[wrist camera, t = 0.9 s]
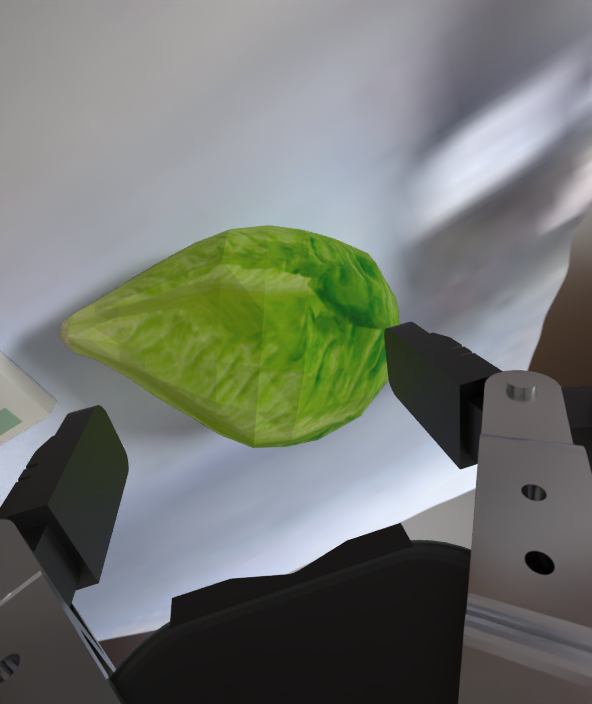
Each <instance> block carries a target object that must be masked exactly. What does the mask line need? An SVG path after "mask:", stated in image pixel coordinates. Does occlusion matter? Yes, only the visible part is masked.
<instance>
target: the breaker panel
mask: <svg viewBox="0 0 592 704" xmlns="http://www.w3.org/2000/svg"><path fill="white" fill-rule="evenodd" d="M55 403H56V400H55V399H54V398H53V397H52V396H51V395H49V394H48V393H47V392H46V391H45V390H44V389H43V388H41V387H40V386H39V385H38V384H37V383H36V382H35V381H34V380H32V379H31V378H30V377H29V376H28V375H27V374H26V373H24V372H23V371H22V370H21V369H20V368H19V367H18V366H16V365H15V364H14V363H13V362H12V361H11V360H10V359H8V358H7V357H6V356H5V355H4V354H3V353H2V352H1V351H0V445H2V444H4V443H5V442H7V441H9V440H10V439H12V438H13V437H15V436H17V435H18V434H20V433H22V432H23V431H25V430H26V429H28V428H30V427H31V426H33V425H35V424H36V423H38V422H40V421H41V420H43V419H44V418H46V417H48V416H49V415H51V412H52V410H53V408H54V406H55Z"/></svg>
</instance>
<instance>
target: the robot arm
mask: <svg viewBox="0 0 592 704" xmlns="http://www.w3.org/2000/svg"><path fill="white" fill-rule="evenodd" d="M384 342H385V351H386V361H387V371H388V379H389V383H390V386H391V388H392V391H393V393H394V394H395V396H396V397H397V398H398V399H399V400H400V402H401V403H402V404H403V405H404V406H405V407H406V408H407V409H408V411H409V412H410V413H411V414H412V415H413V416H414V417H415V419H416V420H417V421H418V422H419V423H420V424H421V425H422V427H423V428H424V429H425V430H426V431H427V432H428V433H429V435H430V436H431V437H432V438H433V439H434V440H435V441H436V443H437V444H438V445H439V446H440V447H441V448H442V449H443V451H444V452H445V453H446V454H447V455H448V456H449V457H450V459H451V460H452V461H453V462H454V463H455V464H456V465H457V466H458V468H459V469H463V468H467V467H470V466H473V465H476V464H478V467H477V480H476V494H475V507H474V521H473V533H472V546H471V550H470V549H468V548H465V547H462V546H458V545H454V544H450V543H446V542H439V541H430V540H410V539H409V537H408V535H407V534H406V532H405V530H404V528H403V526H402V525H401V523H399V524H396V525H393V526H390V527H387V528H383V529H380V530H377V531H374V532H371V533H368V534H365V535H362V536H359V537H356V538H353V539H350V540H347V541H345V542H344V543H342V544H341V545H339V546H337V547H336V548H334V549H333V550H331V551H329V552H328V553H326V554H325V555H323V556H321V557H320V558H318V559H316V560H315V561H313V562H312V563H310V564H308V565H307V566H305V567H304V568H302V569H300V570H299V571H297V572H295V573H292V574H286V575H272V576H259V577H246V578H233V579H228V580H225V581H222V582H219V583H216V584H213V585H210V586H207V587H204V588H201V589H198V590H195V591H192V592H189V593H186V594H183V595H180V596H177V597H174V598H172V605H171V617H170V622H168V623H167V624H165V625H163V626H162V627H161V628H159V629H158V630H157V631H155V632H154V633H153V634H151V635H150V636H149V637H148V638H147V639H145V640H144V641H143V642H142V643H141V644H140V645H139V646H138V647H137V648H135V649H134V650H133V652H132V653H131V654H130V655H129V656H128V657H127V658H126V659H125V660H124V661H123V662H122V663H121V664H120V665H119V667H118V668H117V669H115V668H114V666H113V665H112V663H111V661H110V660H109V658H108V657H107V655H106V654H105V652H104V651H103V649H102V648H101V646H100V644H99V643H98V641H97V640H96V638H95V637H94V635H93V634H92V632H91V631H90V629H89V627H88V626H87V624H86V623H85V621H84V620H83V618H82V617H81V615H80V614H79V612H78V610H77V609H76V608H75V606H74V605H73V604H72V600H73V597H74V594H75V591H76V590H79V589H82V588H85V587H88V586H91V585H94V584H98V583H99V581H100V577H101V573H102V569H103V566H104V562H105V558H106V554H107V550H108V547H109V543H110V539H111V535H112V532H113V528H114V524H115V520H116V517H117V513H118V509H119V505H120V502H121V498H122V494H123V490H124V487H125V483H126V479H127V475H128V469H129V466H128V458H127V454H126V451H125V449H124V447H123V445H122V443H121V441H120V439H119V437H118V435H117V433H116V431H115V429H114V427H113V425H112V423H111V421H110V419H109V417H108V415H107V413H106V411H105V410H104V408H103V407H102V406H100V405H97V406H93V407H90V408H86V409H82V410H79V411H75V412H71V413H69V414H67V416H66V417H65V419H64V421H63V422H62V424H61V426H60V428H59V429H58V431H57V433H56V434H55V436H52V437H51V438H50V439H49V440H48V441H46V442H45V443H44V444H43V445H42V446H41V447H40V448H39V449H38V450H37V451H36V452H35V453H34V455H33V456H32V458H31V459H30V461H29V463H28V464H27V466H26V469H25V470H23V472H22V474H21V475H20V477H19V478H18V481H19V482H16V483H15V485H14V486H13V488H12V490H11V491H10V493H9V494H8V496H7V498H6V499H5V501H4V502H3V504H2V505H1V507H0V704H592V386H579V387H567V388H561V387H560V385H559V384H558V383H557V382H556V381H554V380H553V379H551V378H549V377H547V376H545V375H542V374H539V373H535V372H531V371H522V370H512V371H504V372H503V371H501V370H500V369H498V368H497V367H495V366H494V365H492V364H490V363H489V362H487V361H486V360H484V359H483V358H481V357H480V356H478V355H477V354H475V353H473V354H472V351H470V350H469V349H467V348H466V347H462V345H461V344H459V343H458V342H456V341H455V340H453V339H452V338H450V337H447V336H443V335H440V334H436V333H430V334H429V333H428V332H426V331H425V330H424V329H422V328H421V327H419V326H418V325H416V324H415V323H413V322H407V323H404V324H400V325H396V326H392V327H389V328H386V329H385V331H384Z"/></svg>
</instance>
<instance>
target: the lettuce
mask: <svg viewBox="0 0 592 704" xmlns="http://www.w3.org/2000/svg"><path fill="white" fill-rule="evenodd" d="M396 325H399V310H398V306H397V302H396V298H395V296H394V294H393V292H392V290H391V289H390V287H389V285H388V283H387V282H386V280H385V278H384V276H383V275H382V273H381V271H380V269H379V268H378V266H377V264H376V263H375V261H374V260H373V259H372V258H371V257H370V255H369V254H368V253H366V252H363V251H361V250H359V249H357V248H354V247H352V246H350V245H348V244H345V243H343V242H341V241H339V240H336V239H333V238H330V237H326V236H323V235H319V234H316V233H312V232H309V231H305V230H300V229H292V228H284V227H276V226H269V225H267V226H257V227H248V228H238V229H230V230H227V231H225V232H222V233H220V234H217V235H214V236H212V237H209V238H207V239H204V240H201V241H199V242H196V243H194V244H192V245H190V246H188V247H187V248H185V249H183V250H181V251H179V252H177V253H175V254H174V255H172V256H170V257H168V258H166V259H164V260H163V261H161V262H159V263H157V264H155V265H154V266H152V267H150V268H149V269H147V270H145V271H144V272H142V273H140V274H139V275H137V276H135V277H134V278H132V279H130V280H129V281H127V282H126V283H124V284H122V285H121V286H119V287H117V288H116V289H114V290H113V291H111V292H109V293H108V294H106V295H104V296H103V297H101V298H100V299H98V300H96V301H94V302H93V303H91V304H89V305H88V306H86V307H84V308H83V309H81V310H79V311H77V312H76V313H74V314H72V315H71V316H69V317H68V318H66V319H65V320H64V321H63V323H62V326H61V332H60V336H61V338H62V341H63V342H64V344H65V345H66V346H67V347H68V348H70V349H71V350H72V351H73V352H74V353H76V354H79V355H82V356H85V357H89V358H92V359H95V360H97V361H99V362H101V363H102V364H104V365H106V366H108V367H110V368H112V369H114V370H115V371H117V372H119V373H121V374H123V375H125V376H126V377H128V378H130V379H131V380H133V381H134V382H136V383H137V384H138V385H140V386H141V387H143V388H144V389H145V390H147V391H148V392H150V393H151V394H152V395H154V396H156V397H157V398H159V399H161V400H162V401H164V402H166V403H168V404H169V405H171V406H173V407H175V408H176V409H178V410H180V411H181V412H183V413H185V414H187V415H188V416H190V417H192V418H193V419H195V420H196V421H198V422H200V423H201V424H203V425H205V426H206V427H208V428H209V429H211V430H213V431H214V432H216V433H217V434H219V435H222V436H224V437H227V438H229V439H232V440H234V441H237V442H240V443H242V444H245V445H247V446H250V447H252V448H262V447H288V446H292V445H297V444H301V443H306V442H310V441H315V440H319V439H320V438H322V437H324V436H326V435H328V434H329V433H331V432H333V431H335V430H337V429H338V428H340V427H342V426H344V425H345V424H347V423H349V422H351V421H353V420H354V419H356V418H358V417H359V416H361V415H362V413H363V412H364V411H365V409H366V408H367V407H368V406H369V404H370V403H371V402H372V401H373V399H374V398H375V397H376V395H377V394H378V393H379V392H380V390H381V389H382V388H383V386H384V385H385V384H386V383H387V381H388V371H387V361H386V351H385V342H384V331H385V329H386V328H389V327H392V326H396Z"/></svg>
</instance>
